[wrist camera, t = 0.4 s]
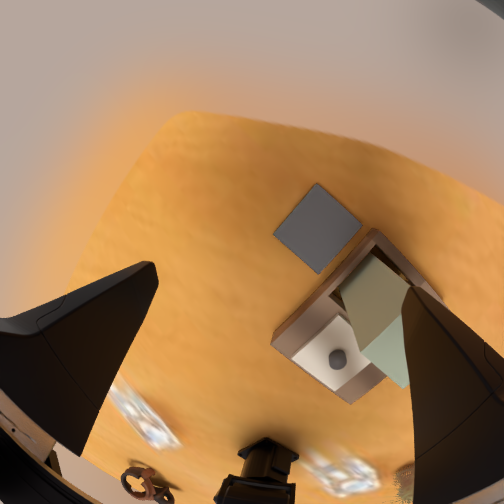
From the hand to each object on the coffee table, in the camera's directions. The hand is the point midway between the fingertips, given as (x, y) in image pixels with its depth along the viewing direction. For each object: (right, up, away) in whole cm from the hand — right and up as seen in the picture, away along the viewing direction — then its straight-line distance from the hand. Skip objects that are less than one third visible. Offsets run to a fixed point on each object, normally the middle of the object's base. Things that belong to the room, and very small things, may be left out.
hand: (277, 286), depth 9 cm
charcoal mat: (+5, +3, +15) cm, 16 cm away
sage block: (+10, -2, +15) cm, 18 cm away
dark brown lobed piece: (-21, -46, +30) cm, 59 cm away
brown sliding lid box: (+10, -6, +16) cm, 19 cm away
